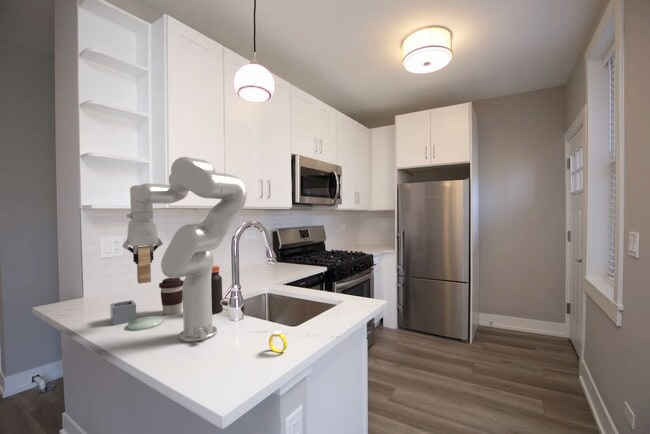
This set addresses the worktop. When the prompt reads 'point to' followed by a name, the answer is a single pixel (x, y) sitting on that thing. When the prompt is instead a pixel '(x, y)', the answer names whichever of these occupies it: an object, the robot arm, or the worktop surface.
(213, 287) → the bottle
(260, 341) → the worktop surface
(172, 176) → the robot arm
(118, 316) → the gray open square box
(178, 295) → the coffee cup
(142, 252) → the oak peg
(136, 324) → the mint green dome
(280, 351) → the yellow ring
